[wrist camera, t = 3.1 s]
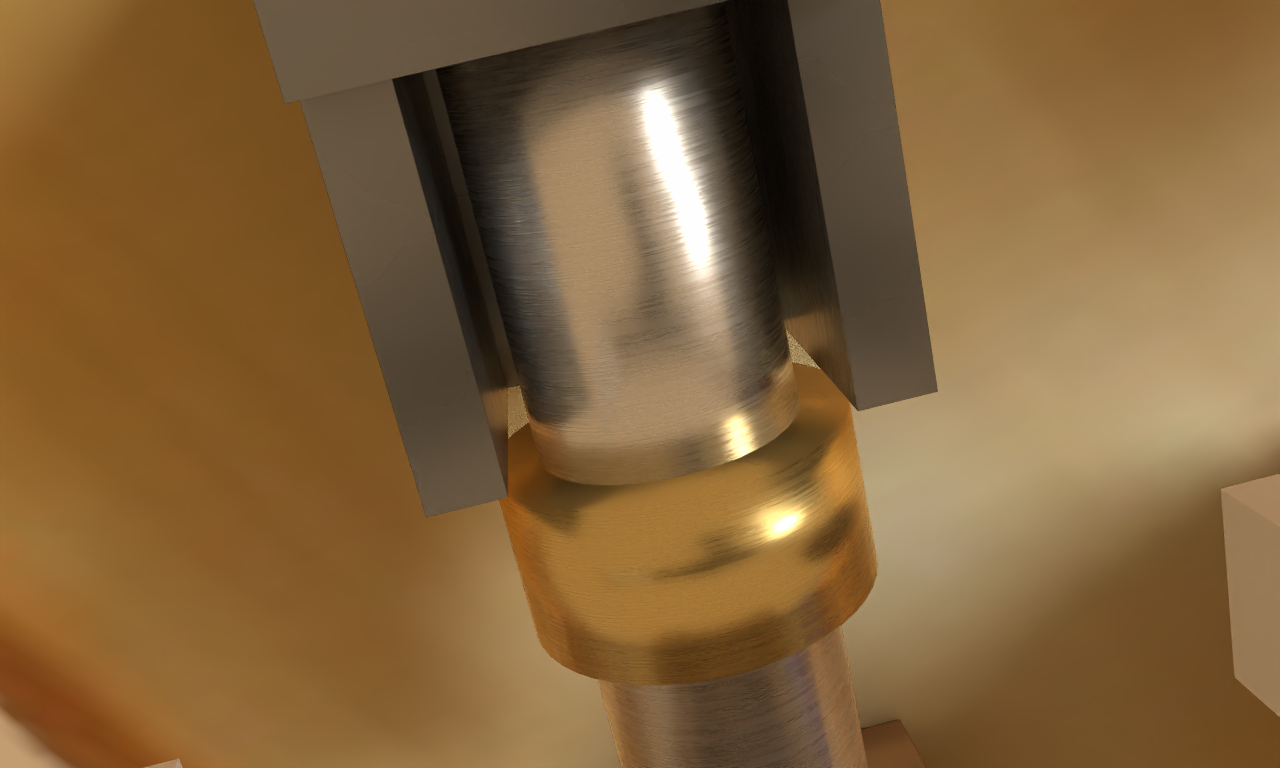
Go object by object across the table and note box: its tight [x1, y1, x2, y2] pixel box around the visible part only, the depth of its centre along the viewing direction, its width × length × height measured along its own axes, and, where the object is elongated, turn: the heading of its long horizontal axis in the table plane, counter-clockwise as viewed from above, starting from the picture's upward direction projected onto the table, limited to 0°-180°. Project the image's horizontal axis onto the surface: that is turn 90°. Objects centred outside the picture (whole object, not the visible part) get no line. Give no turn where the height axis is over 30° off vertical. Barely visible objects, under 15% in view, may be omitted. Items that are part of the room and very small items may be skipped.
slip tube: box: [436, 2, 878, 768], centre depth 19 cm, size 19×6×6 cm, turn 12°
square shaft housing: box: [253, 0, 938, 517], centre depth 20 cm, size 11×8×11 cm
